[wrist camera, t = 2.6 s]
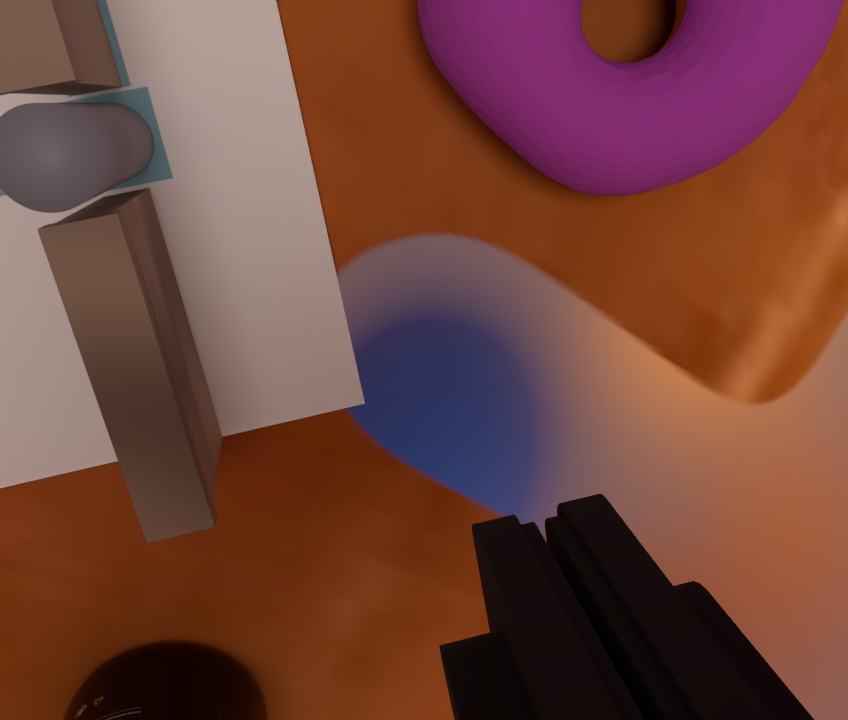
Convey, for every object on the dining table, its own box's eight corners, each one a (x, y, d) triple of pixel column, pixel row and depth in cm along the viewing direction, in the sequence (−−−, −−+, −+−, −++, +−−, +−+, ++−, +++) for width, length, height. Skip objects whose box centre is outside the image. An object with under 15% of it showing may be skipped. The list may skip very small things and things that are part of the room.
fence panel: (96, 198, 21) (36, 229, 16) (157, 186, 21) (117, 213, 16) (175, 447, 23) (146, 543, 18) (228, 435, 23) (215, 527, 18)
